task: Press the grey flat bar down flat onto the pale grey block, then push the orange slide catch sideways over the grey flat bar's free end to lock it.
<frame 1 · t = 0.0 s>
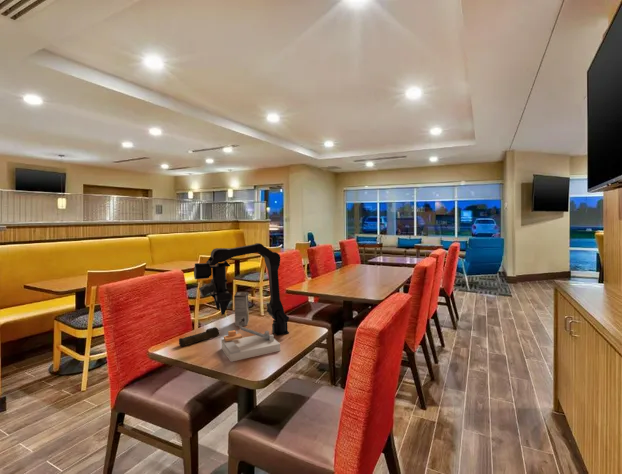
hand: (220, 311, 147), 15 cm above the table, tool pointing down, fingers open, 9 cm apart
hand tool: (199, 341, 153), on the table
catch: (232, 335, 143), point 6 cm above the table, slide at -5.5 cm
coffee box: (242, 323, 176), on the table
mount block: (250, 349, 141), on the table
grey flat bar: (255, 333, 142), point 7 cm above the table, hinge at 28.0°
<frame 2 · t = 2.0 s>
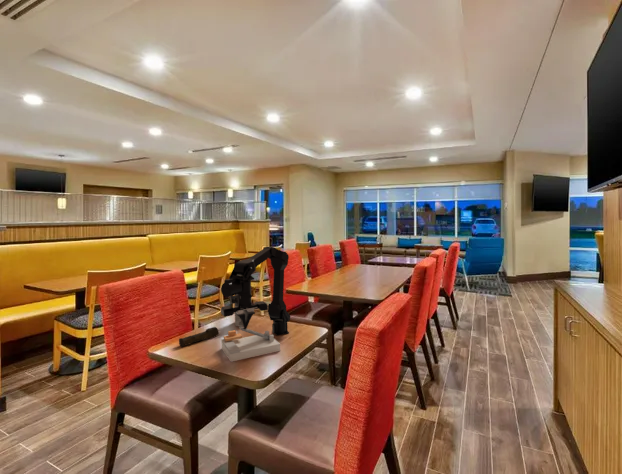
hand: (245, 328, 139), 10 cm above the table, tool pointing down, fingers closed
grey flat bar: (255, 333, 142), point 7 cm above the table, hinge at 27.4°, touching gripper
everything else where it was.
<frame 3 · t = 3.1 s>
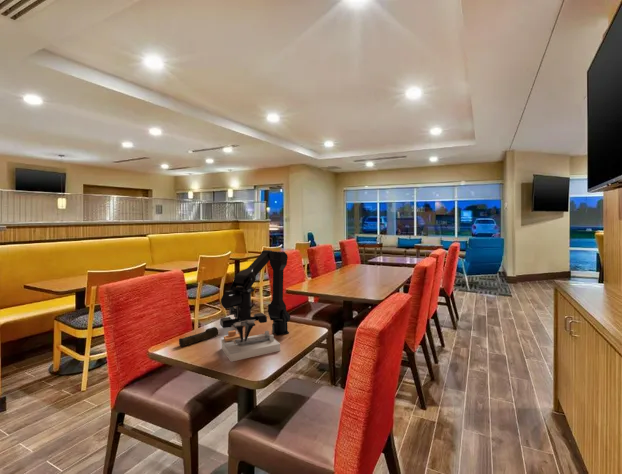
hand: (243, 340, 139), 5 cm above the table, tool pointing down, fingers closed, pressing on grey flat bar
grey flat bar: (253, 339, 141), point 4 cm above the table, hinge at 4.0°, touching gripper
everything else where it was.
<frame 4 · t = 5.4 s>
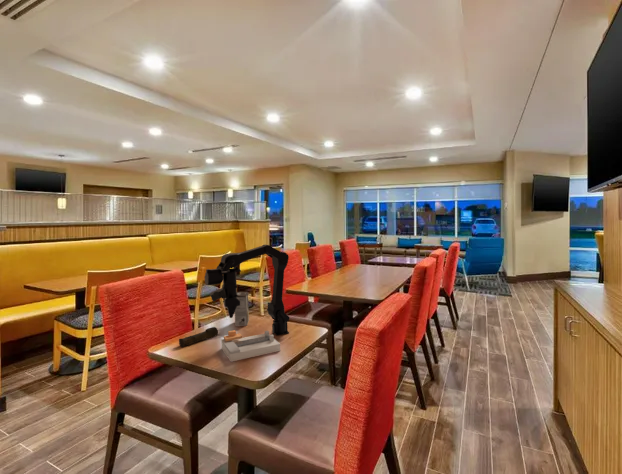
hand: (230, 317, 147), 12 cm above the table, tool pointing down, fingers closed
grey flat bar: (253, 340, 141), point 3 cm above the table, hinge at 0.0°
everything else where it was.
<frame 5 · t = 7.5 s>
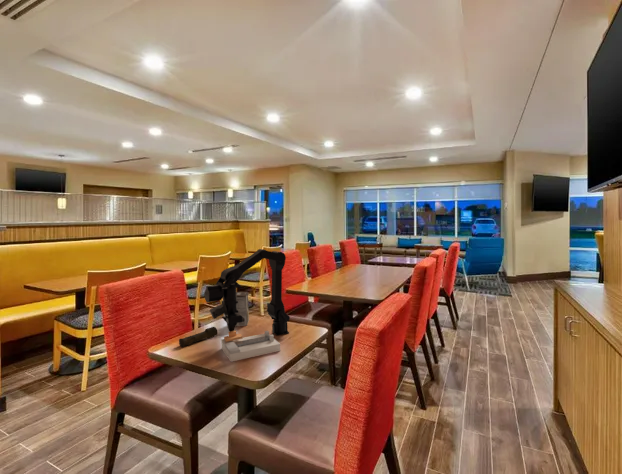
hand: (231, 333, 145), 6 cm above the table, tool pointing down, fingers closed
catch: (233, 335, 142), point 6 cm above the table, slide at -5.0 cm, touching gripper
everything else where it was.
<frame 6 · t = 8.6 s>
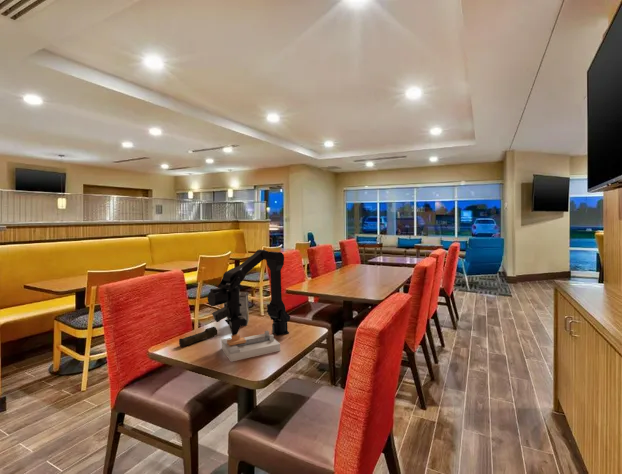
hand: (234, 337, 141), 6 cm above the table, tool pointing down, fingers closed
catch: (236, 339, 138), point 6 cm above the table, slide at 0.0 cm, touching gripper
everything else where it was.
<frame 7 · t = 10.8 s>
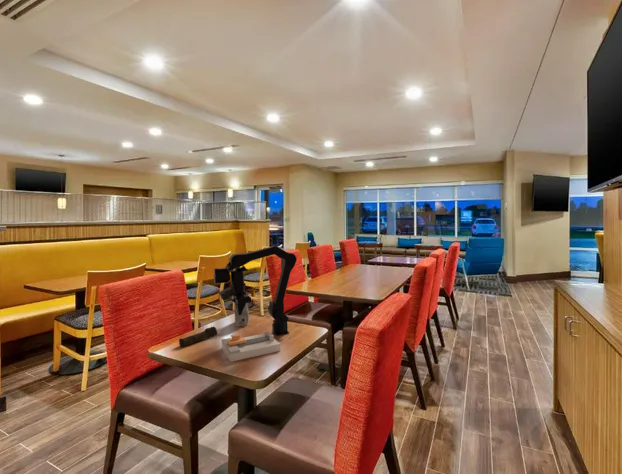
hand: (239, 314, 153), 12 cm above the table, tool pointing down, fingers closed
catch: (236, 339, 138), point 6 cm above the table, slide at 0.1 cm
everything else where it was.
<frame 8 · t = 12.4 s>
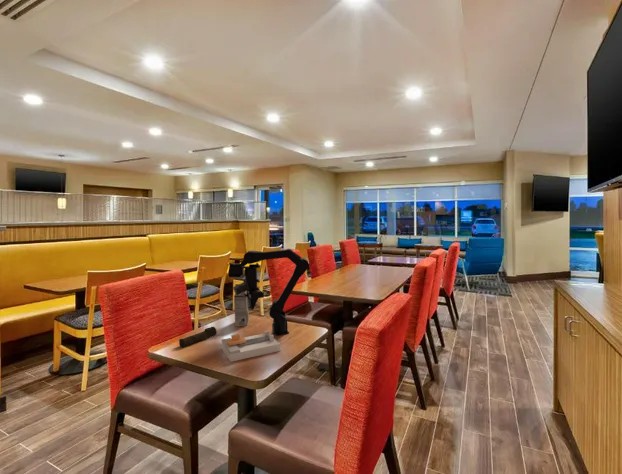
hand: (251, 309, 160), 12 cm above the table, tool pointing down, fingers closed
nothing on the table moved.
at the end: grey flat bar at +0° (first picture: +28°); catch slide at 0.1 cm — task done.
